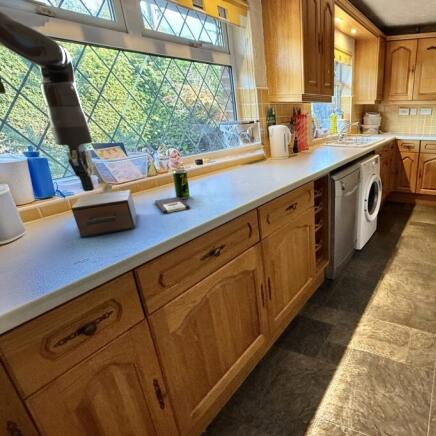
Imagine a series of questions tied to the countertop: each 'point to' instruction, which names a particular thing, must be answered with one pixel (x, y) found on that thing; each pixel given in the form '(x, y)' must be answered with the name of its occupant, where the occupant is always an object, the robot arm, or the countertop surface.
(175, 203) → the chocolate bar
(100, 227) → the drawer
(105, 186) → the chocolate bunny
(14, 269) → the countertop surface
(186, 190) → the beer can
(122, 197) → the cabinet
